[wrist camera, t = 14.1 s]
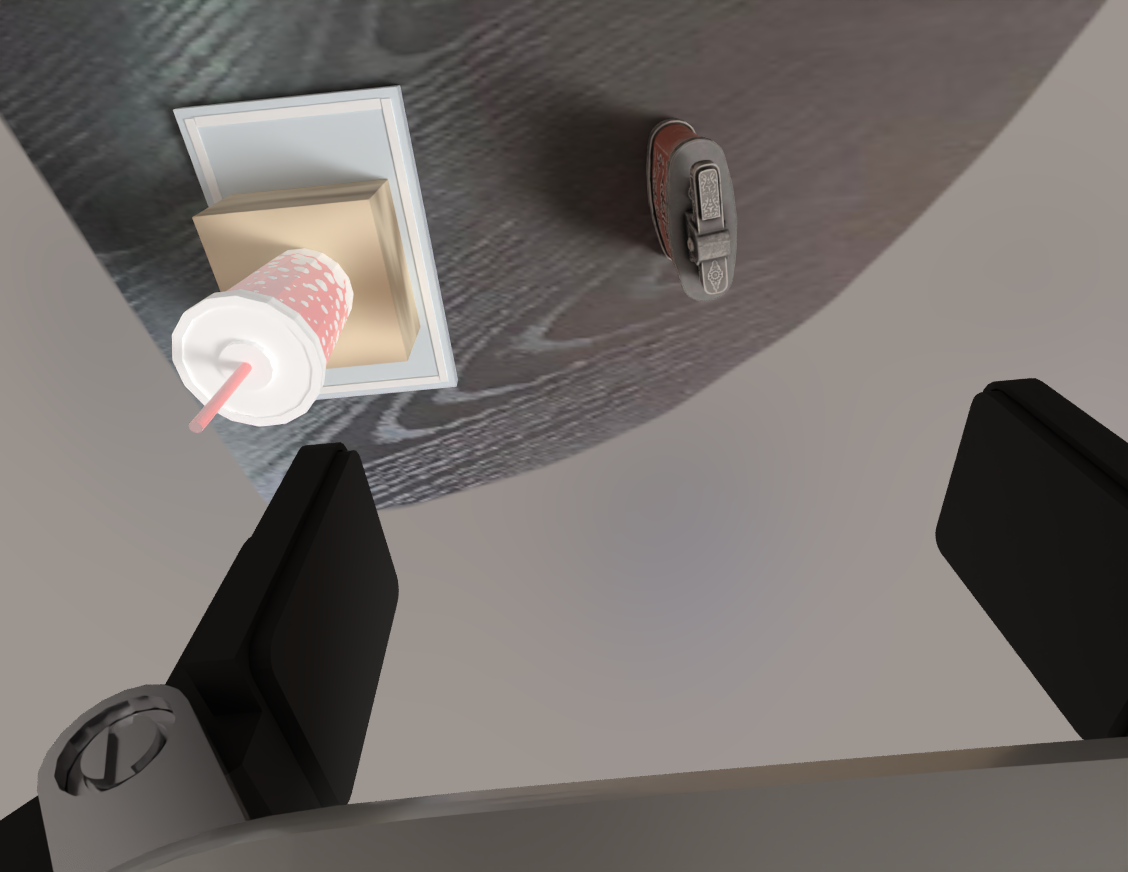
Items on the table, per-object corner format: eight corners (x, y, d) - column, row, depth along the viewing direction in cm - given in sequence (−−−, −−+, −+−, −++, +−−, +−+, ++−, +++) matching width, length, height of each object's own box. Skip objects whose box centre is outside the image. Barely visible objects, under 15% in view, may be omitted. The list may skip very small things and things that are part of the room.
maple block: (231, 194, 37) (191, 217, 33) (388, 178, 37) (368, 199, 33) (281, 339, 42) (252, 375, 38) (420, 326, 42) (407, 361, 38)
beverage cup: (299, 207, 33) (167, 313, 21) (391, 296, 36) (319, 434, 24) (226, 284, 35) (68, 420, 23) (318, 363, 38) (218, 521, 26)
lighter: (710, 251, 41) (754, 312, 33) (656, 263, 41) (687, 326, 33) (698, 112, 37) (746, 139, 28) (638, 125, 37) (668, 157, 29)
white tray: (181, 107, 36) (171, 109, 35) (399, 85, 36) (396, 86, 35) (285, 395, 45) (280, 403, 44) (457, 379, 45) (456, 387, 44)
